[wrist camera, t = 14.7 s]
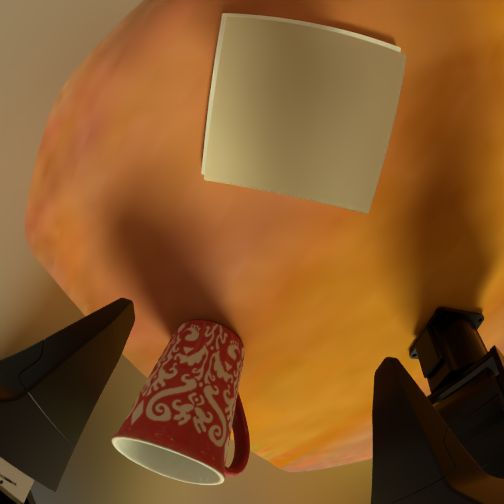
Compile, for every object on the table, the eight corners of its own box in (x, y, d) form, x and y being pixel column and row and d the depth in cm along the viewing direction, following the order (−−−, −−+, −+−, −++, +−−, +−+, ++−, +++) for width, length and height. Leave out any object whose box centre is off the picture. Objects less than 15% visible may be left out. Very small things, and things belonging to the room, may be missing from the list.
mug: (148, 327, 29) (91, 436, 17) (213, 297, 25) (158, 439, 14) (223, 394, 33) (197, 493, 21) (288, 377, 29) (275, 496, 18)
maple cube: (367, 68, 10) (406, 54, 6) (344, 172, 13) (367, 214, 8) (253, 44, 10) (226, 16, 6) (236, 149, 13) (203, 179, 9)
